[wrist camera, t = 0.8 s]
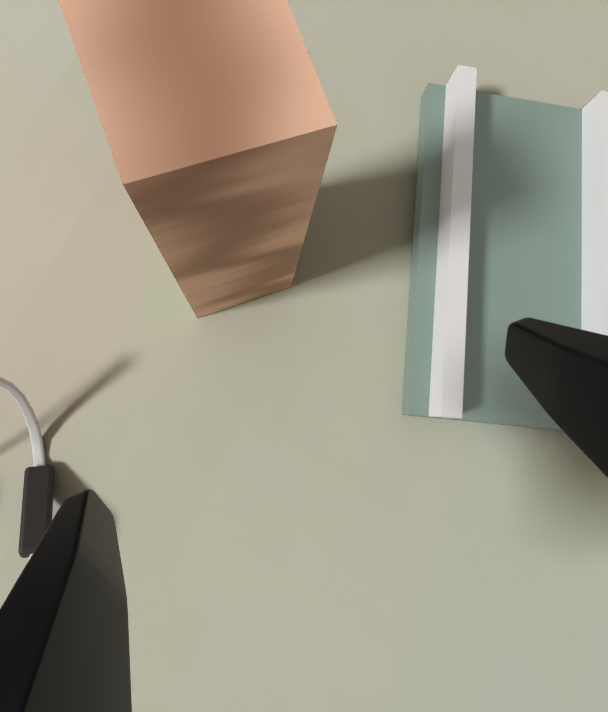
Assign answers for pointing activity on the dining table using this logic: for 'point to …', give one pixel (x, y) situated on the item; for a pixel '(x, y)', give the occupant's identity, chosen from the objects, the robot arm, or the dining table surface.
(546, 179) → the slot board
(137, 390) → the dining table surface
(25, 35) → the dining table surface
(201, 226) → the plug block
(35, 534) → the clip-on lamp
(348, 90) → the dining table surface
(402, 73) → the dining table surface
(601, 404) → the robot arm
